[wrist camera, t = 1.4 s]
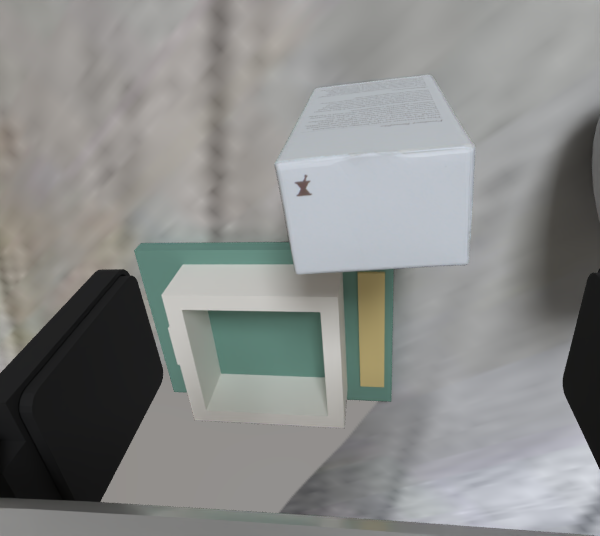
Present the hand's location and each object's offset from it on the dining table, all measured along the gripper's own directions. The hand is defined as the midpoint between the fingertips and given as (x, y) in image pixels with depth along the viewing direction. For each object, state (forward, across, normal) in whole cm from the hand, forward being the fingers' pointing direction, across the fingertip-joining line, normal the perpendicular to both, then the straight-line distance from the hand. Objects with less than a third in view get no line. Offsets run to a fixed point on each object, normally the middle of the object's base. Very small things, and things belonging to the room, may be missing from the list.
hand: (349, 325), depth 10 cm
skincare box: (+18, -1, 0) cm, 18 cm away
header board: (+18, +6, +13) cm, 23 cm away
